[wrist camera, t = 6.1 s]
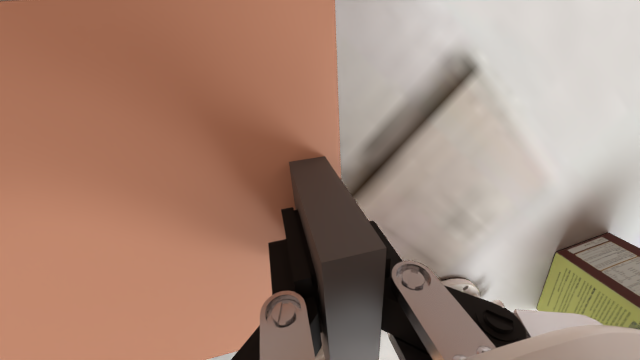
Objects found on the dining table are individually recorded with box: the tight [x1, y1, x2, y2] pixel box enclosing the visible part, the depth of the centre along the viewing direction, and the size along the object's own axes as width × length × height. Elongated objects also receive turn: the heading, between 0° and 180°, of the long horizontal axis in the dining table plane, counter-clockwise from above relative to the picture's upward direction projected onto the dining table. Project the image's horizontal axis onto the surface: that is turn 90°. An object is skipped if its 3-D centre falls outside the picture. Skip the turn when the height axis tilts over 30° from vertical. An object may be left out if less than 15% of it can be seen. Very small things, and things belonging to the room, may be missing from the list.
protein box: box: [537, 233, 640, 330], centre depth 38 cm, size 10×15×16 cm
